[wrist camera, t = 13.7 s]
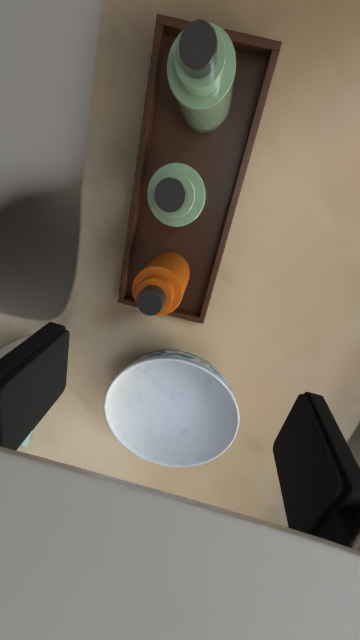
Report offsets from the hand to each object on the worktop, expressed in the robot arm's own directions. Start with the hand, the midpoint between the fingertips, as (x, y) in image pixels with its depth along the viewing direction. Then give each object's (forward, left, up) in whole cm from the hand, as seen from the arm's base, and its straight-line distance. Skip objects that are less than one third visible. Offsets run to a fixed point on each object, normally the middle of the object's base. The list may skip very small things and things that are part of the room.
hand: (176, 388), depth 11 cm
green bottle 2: (-7, -4, -22) cm, 23 cm away
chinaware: (+15, 0, -23) cm, 28 cm away
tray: (-7, -4, -23) cm, 24 cm away
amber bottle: (+2, -4, -22) cm, 22 cm away
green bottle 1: (-15, -4, -22) cm, 27 cm away
